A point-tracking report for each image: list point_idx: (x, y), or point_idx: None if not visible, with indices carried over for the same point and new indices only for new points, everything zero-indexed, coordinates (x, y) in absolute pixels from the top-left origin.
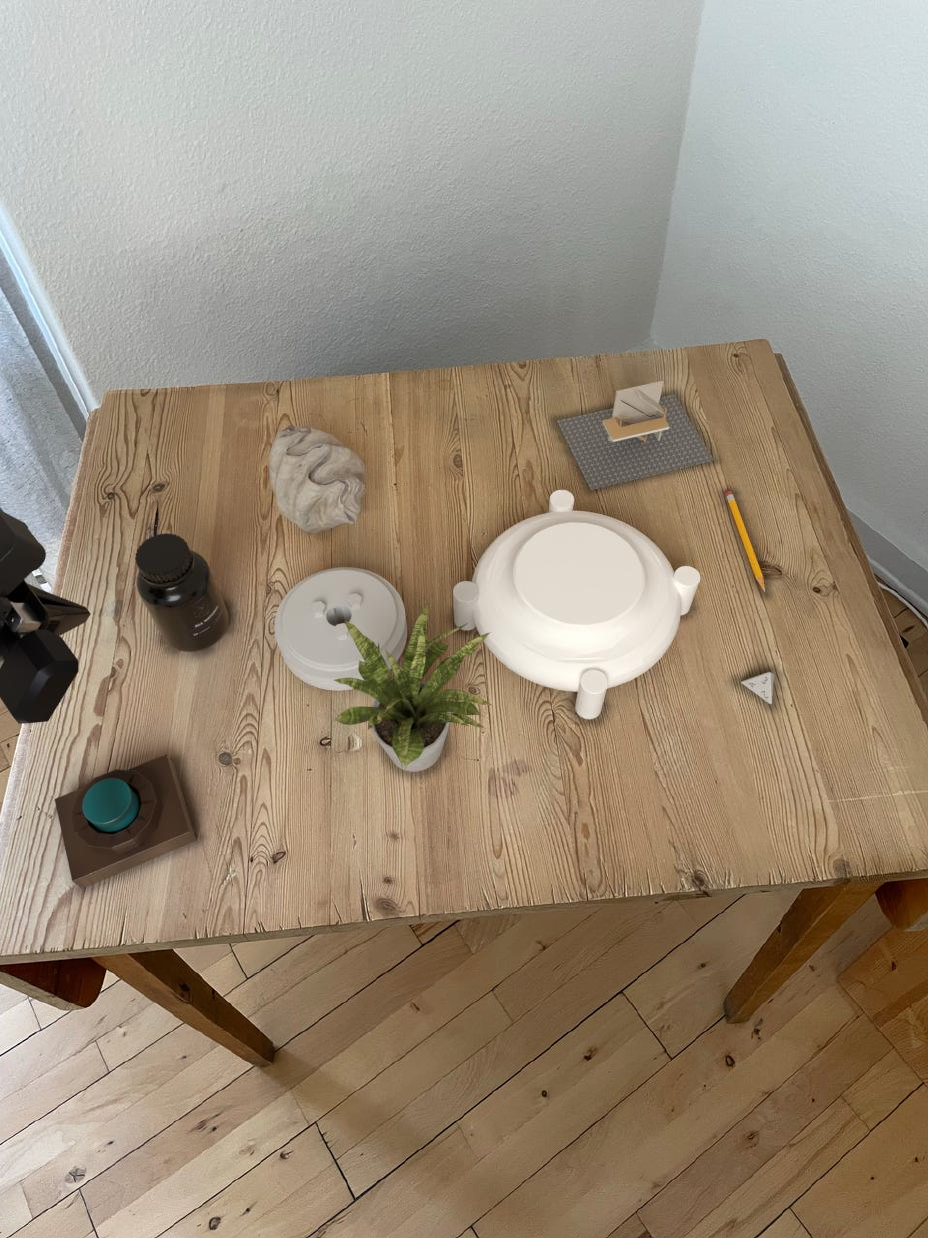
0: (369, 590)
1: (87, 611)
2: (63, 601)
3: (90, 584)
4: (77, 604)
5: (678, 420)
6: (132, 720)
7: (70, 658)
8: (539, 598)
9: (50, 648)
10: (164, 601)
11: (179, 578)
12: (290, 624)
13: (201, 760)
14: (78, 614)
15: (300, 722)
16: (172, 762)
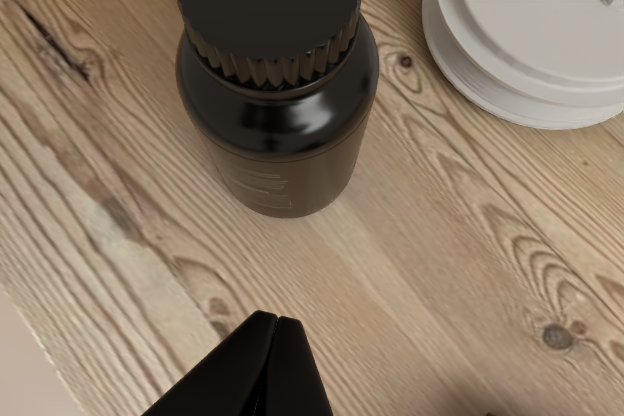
0: None
1: (290, 324)
2: (219, 398)
3: (22, 207)
4: (241, 333)
5: None
6: (341, 390)
7: None
8: None
9: None
10: (331, 126)
11: (355, 33)
12: (517, 36)
13: (524, 370)
14: (320, 386)
15: (602, 197)
16: (493, 414)
